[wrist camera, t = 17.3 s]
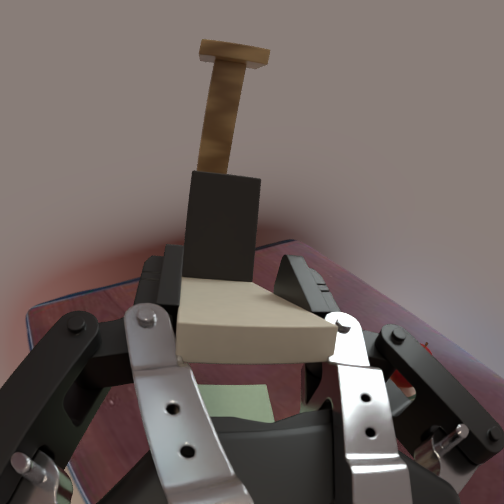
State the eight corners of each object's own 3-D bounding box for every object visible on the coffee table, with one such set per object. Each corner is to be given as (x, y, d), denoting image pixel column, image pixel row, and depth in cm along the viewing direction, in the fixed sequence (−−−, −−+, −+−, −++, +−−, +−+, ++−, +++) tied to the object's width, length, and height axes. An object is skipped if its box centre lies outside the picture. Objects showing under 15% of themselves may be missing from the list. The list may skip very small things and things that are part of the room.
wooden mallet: (175, 362, 6) (205, 73, 6) (181, 287, 19) (191, 181, 19) (333, 361, 7) (350, 104, 7) (241, 292, 20) (250, 188, 20)
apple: (418, 364, 35) (441, 331, 32) (425, 408, 29) (455, 375, 25) (370, 354, 36) (391, 318, 33) (372, 400, 30) (400, 365, 26)
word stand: (171, 325, 35) (201, 38, 20) (173, 295, 40) (202, 48, 25) (219, 328, 37) (270, 49, 21) (216, 298, 42) (258, 56, 26)
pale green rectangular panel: (171, 518, 15) (170, 517, 15) (168, 389, 27) (168, 382, 27) (291, 511, 18) (295, 508, 17) (263, 390, 29) (266, 384, 29)
